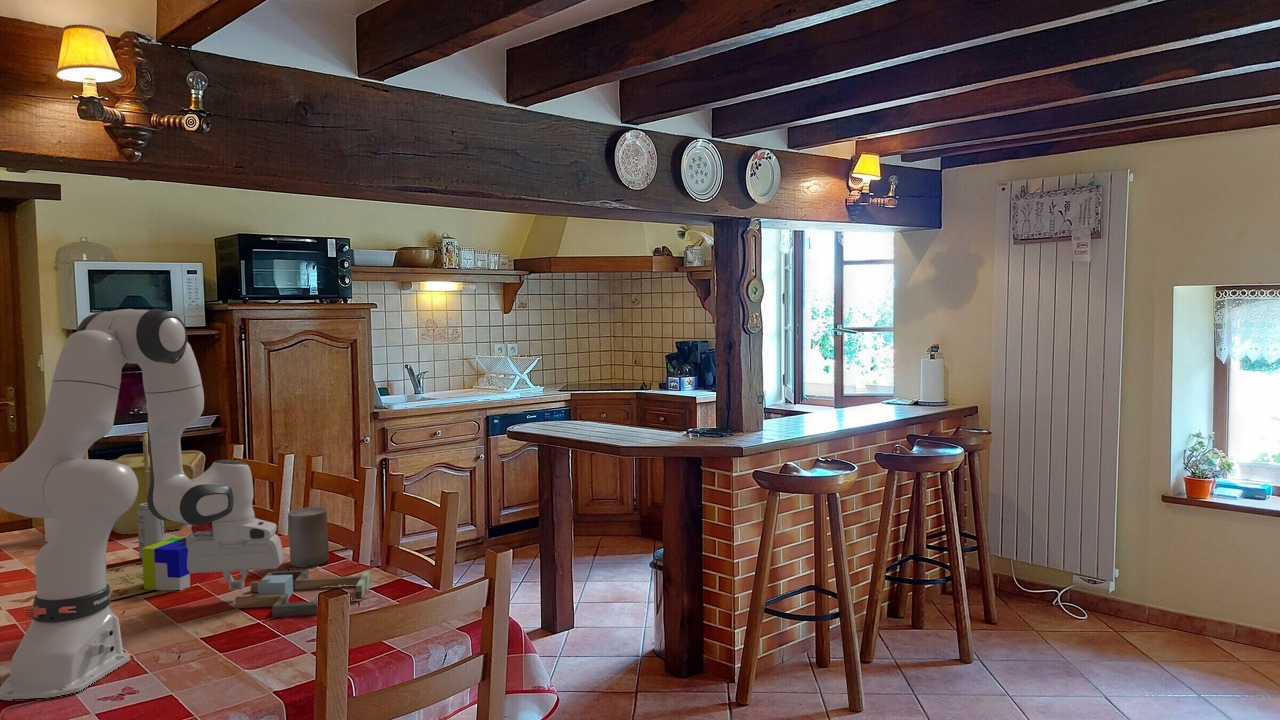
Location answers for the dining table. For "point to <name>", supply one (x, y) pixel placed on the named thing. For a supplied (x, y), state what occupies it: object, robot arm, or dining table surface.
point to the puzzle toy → (168, 566)
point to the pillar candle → (308, 536)
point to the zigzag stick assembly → (299, 582)
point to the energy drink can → (148, 528)
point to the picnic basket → (142, 470)
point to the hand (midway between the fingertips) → (236, 588)
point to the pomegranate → (202, 527)
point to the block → (276, 585)
